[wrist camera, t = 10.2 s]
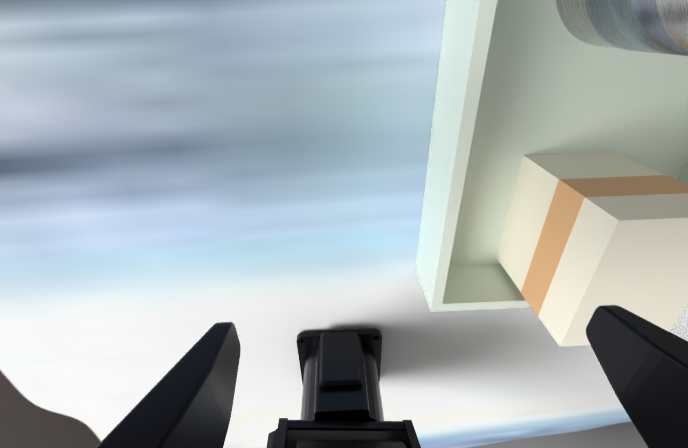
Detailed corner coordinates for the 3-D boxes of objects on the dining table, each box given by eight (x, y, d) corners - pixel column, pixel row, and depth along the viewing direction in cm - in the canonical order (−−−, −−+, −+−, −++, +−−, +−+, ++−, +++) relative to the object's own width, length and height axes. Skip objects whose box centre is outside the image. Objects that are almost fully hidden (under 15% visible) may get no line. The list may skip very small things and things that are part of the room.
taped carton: (571, 254, 22) (662, 342, 16) (495, 257, 22) (559, 347, 16) (614, 151, 18) (753, 214, 12) (523, 154, 18) (618, 220, 12)
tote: (632, 259, 23) (685, 300, 20) (415, 268, 23) (430, 312, 19) (883, -206, 12) (1102, -296, 9) (469, -202, 12) (527, -293, 8)
